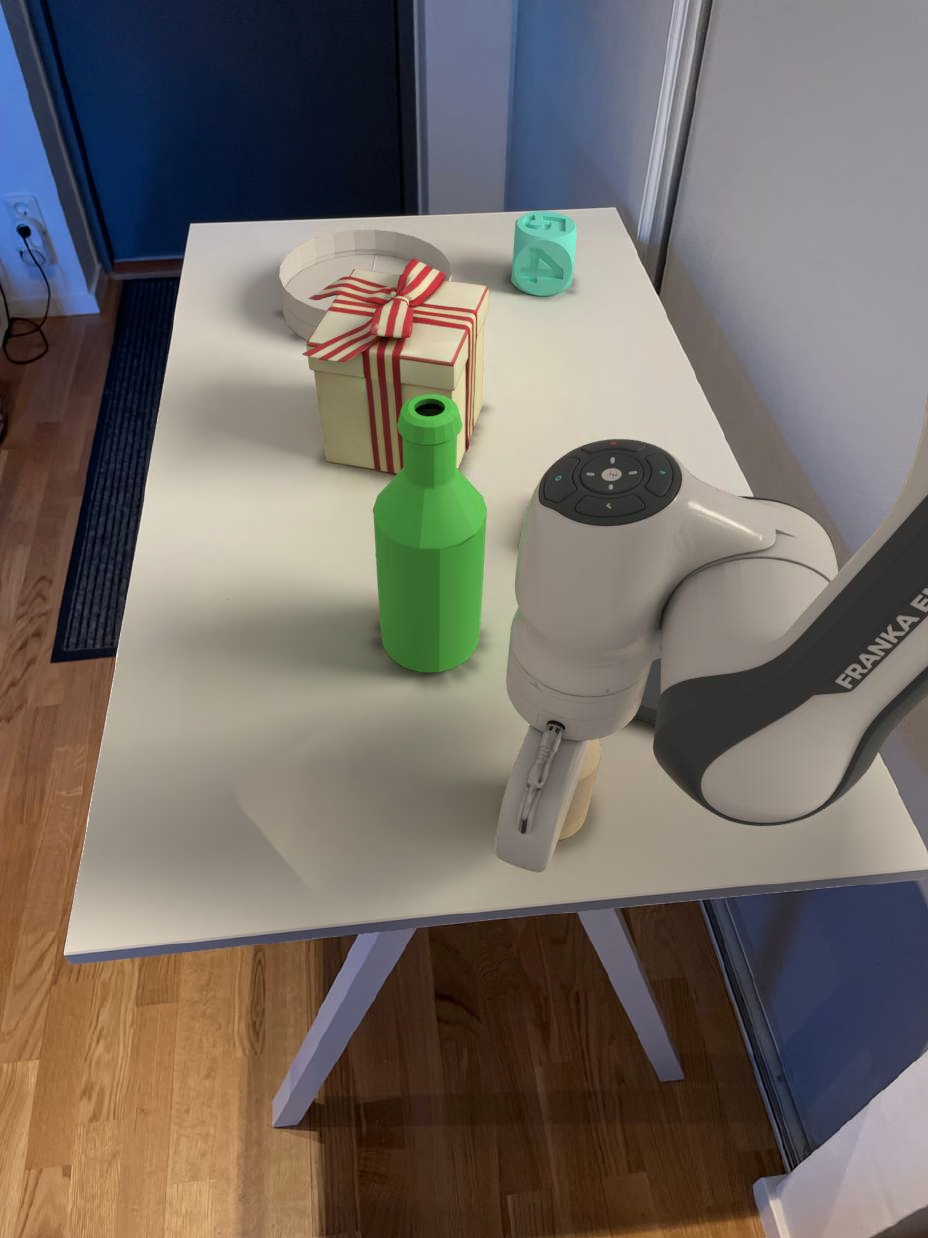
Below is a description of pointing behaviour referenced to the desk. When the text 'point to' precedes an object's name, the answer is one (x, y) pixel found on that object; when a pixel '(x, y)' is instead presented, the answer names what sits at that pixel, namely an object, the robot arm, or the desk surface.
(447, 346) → the gift box
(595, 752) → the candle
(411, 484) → the bottle
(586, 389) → the desk surface
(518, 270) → the decorative dice
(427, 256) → the dish
